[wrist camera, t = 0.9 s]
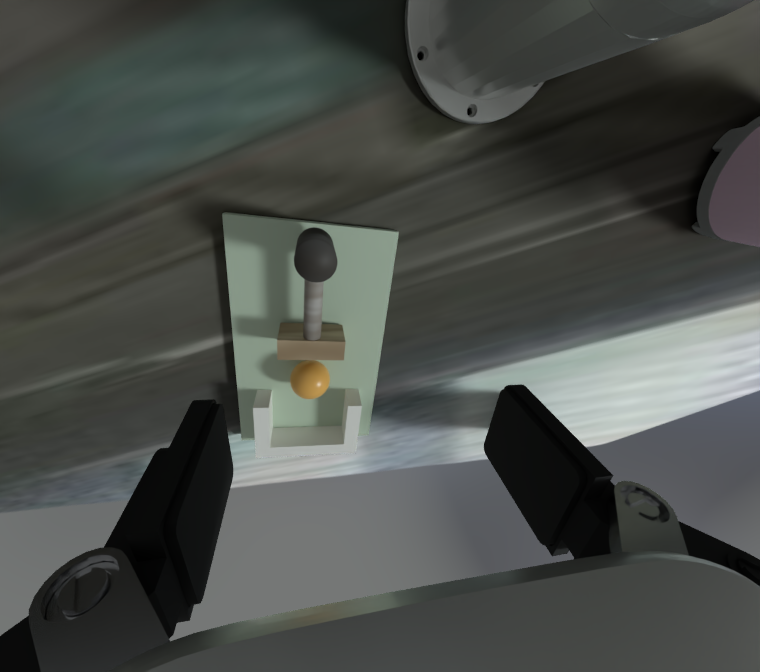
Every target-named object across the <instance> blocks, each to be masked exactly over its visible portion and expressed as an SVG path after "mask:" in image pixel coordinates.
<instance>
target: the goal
mask: <svg viewBox="0 0 760 672" xmlns="http://www.w3.org/2000/svg"><path fill="white" fill-rule="evenodd" d="M361 409H362V404H361V399H360V394H359V389H345V398H344V408H343V419H342V426H317V427H287V428H273V411H272V390H257V393H256V397H255V401H254V406H253V418H254V434H255V450H256V458H272V457H291V456H310V455H329V454H348V453H356V447H357V440H358V432H359V424H360V417H361Z"/></svg>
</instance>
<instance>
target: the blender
mask: <svg viewBox="0 0 760 672" xmlns="http://www.w3.org/2000/svg"><path fill="white" fill-rule="evenodd" d="M712 149H713V150H714V151H716V152H720V153H719V155H718V156H717V157H716V159H715V160H714V162H713V164H712V165H711V167H710V169H709V171H708V173H707V175H706V177H705V179H704V181H703V184H702V187H701V190H700V193H699V197H698V202H697V219H698V222H695V223H694V224H693V225H692V228H693V230H694V231H696V232H697V233H699V234H701V235H705V236H708V237H711V238H714V239H719V240H725V241H732V242H737V243H742V244H747V245H752V246H757V247H760V116H759V117H758V118H756V119H754V120H753V121H751V122H750V123H749V124H747V125H746V126H744V127H740V128H735V129H731V130H729V131H728V132H726V133H725V134H724V135H723V136H722V137H721V138H720V139H719V140H718V141H717V142H716V143H715V145H714V146H713V148H712Z"/></svg>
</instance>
